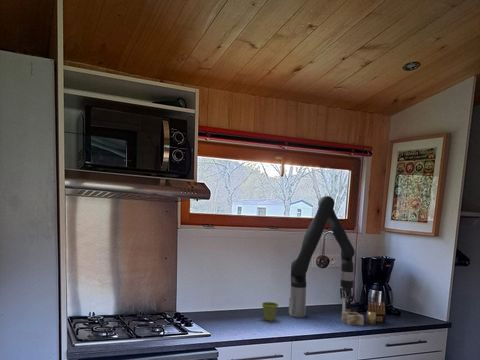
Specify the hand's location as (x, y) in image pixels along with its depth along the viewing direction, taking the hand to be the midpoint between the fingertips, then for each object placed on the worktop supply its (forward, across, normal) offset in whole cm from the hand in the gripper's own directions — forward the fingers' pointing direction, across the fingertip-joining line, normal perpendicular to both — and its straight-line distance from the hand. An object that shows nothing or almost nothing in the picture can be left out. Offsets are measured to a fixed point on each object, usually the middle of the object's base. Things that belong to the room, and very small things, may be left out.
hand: (346, 307), depth 225 cm
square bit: (+6, 0, 0) cm, 6 cm away
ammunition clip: (+7, +8, +15) cm, 18 cm away
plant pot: (+7, +1, -48) cm, 48 cm away
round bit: (+6, +11, +10) cm, 16 cm away
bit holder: (+6, +8, 0) cm, 10 cm away
